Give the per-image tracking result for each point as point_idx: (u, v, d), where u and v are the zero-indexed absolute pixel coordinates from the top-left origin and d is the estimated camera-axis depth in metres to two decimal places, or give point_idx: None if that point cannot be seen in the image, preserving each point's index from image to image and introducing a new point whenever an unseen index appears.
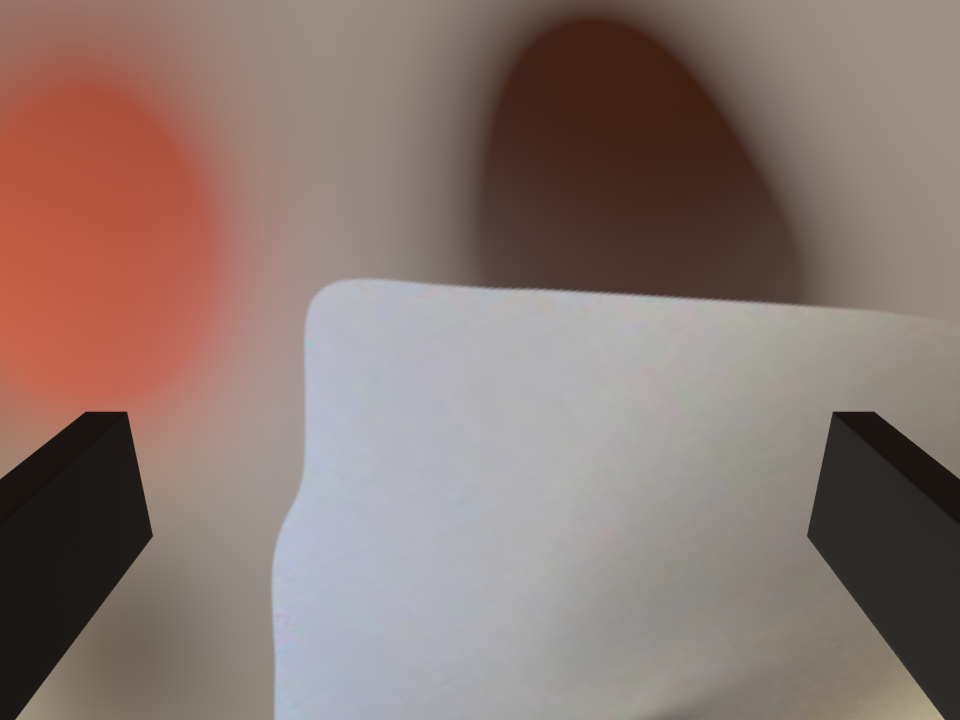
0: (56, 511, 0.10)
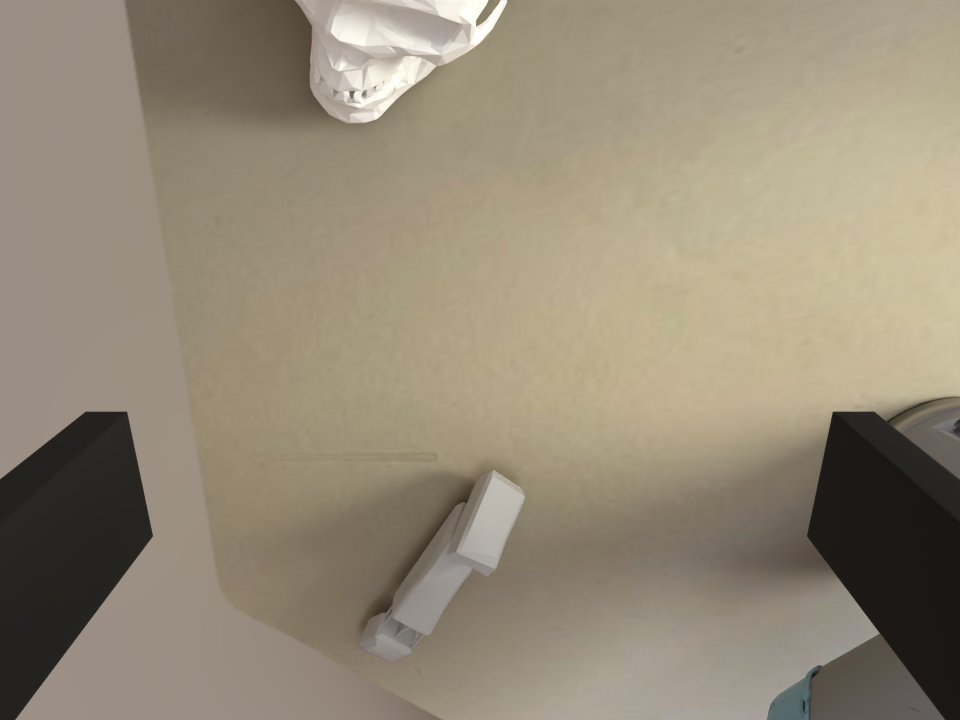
0: (57, 511, 0.10)
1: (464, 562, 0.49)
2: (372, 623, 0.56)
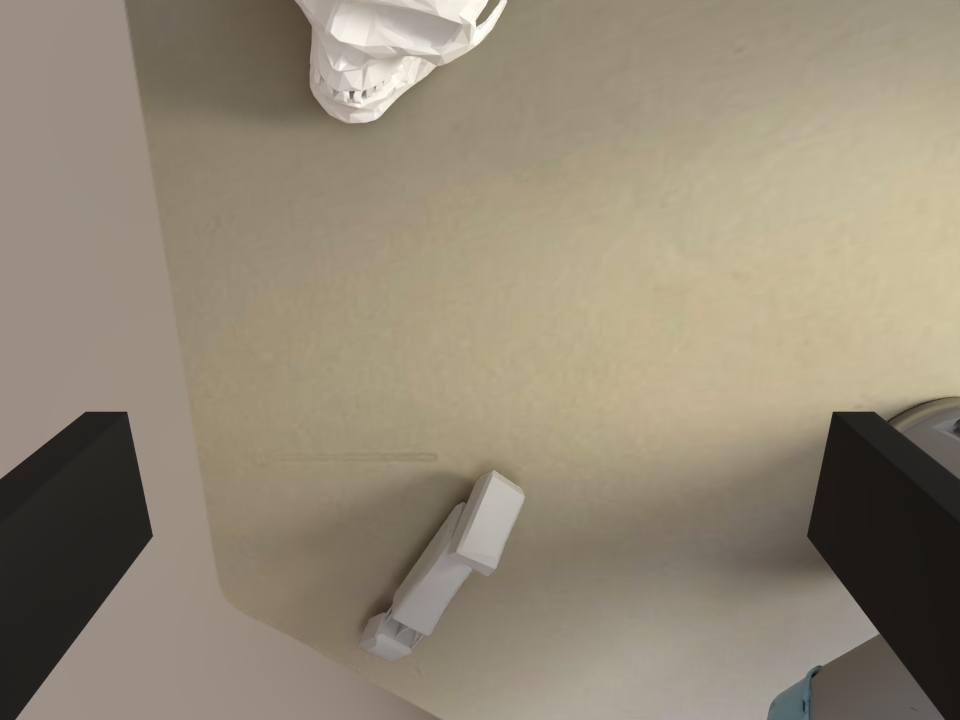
0: (56, 511, 0.10)
1: (464, 562, 0.49)
2: (372, 623, 0.56)
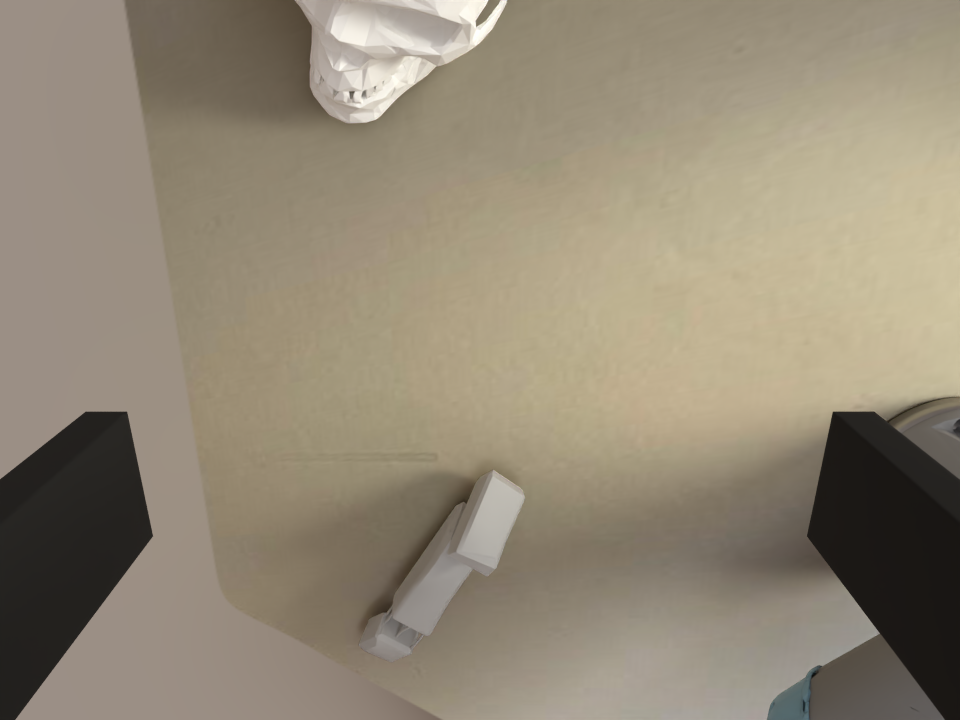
0: (56, 511, 0.10)
1: (464, 562, 0.49)
2: (372, 623, 0.56)
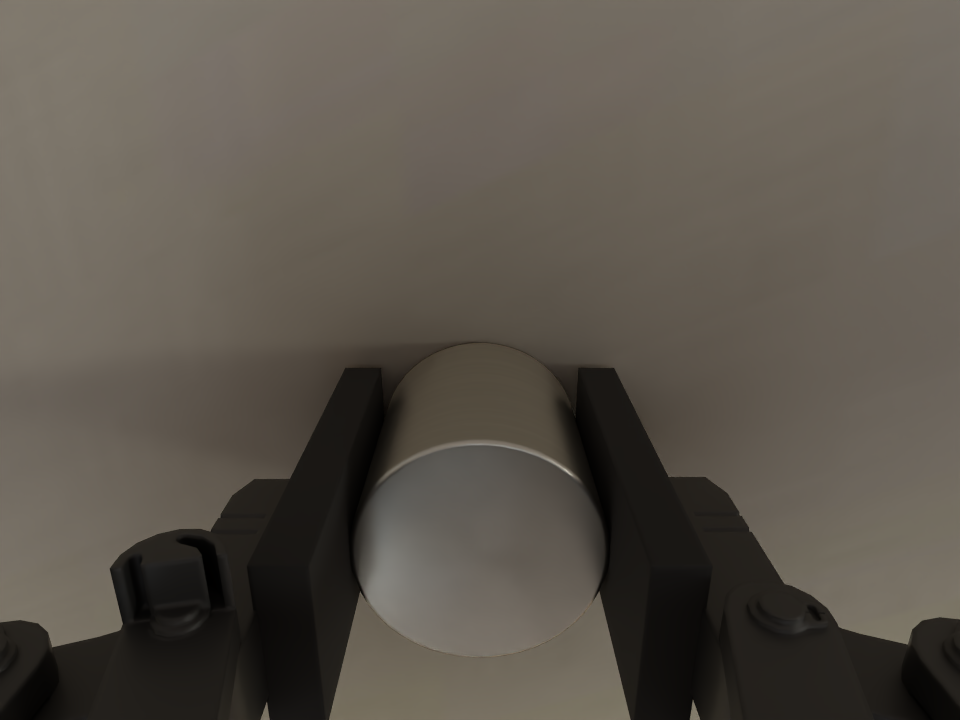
0: (364, 444, 0.12)
1: None
2: None
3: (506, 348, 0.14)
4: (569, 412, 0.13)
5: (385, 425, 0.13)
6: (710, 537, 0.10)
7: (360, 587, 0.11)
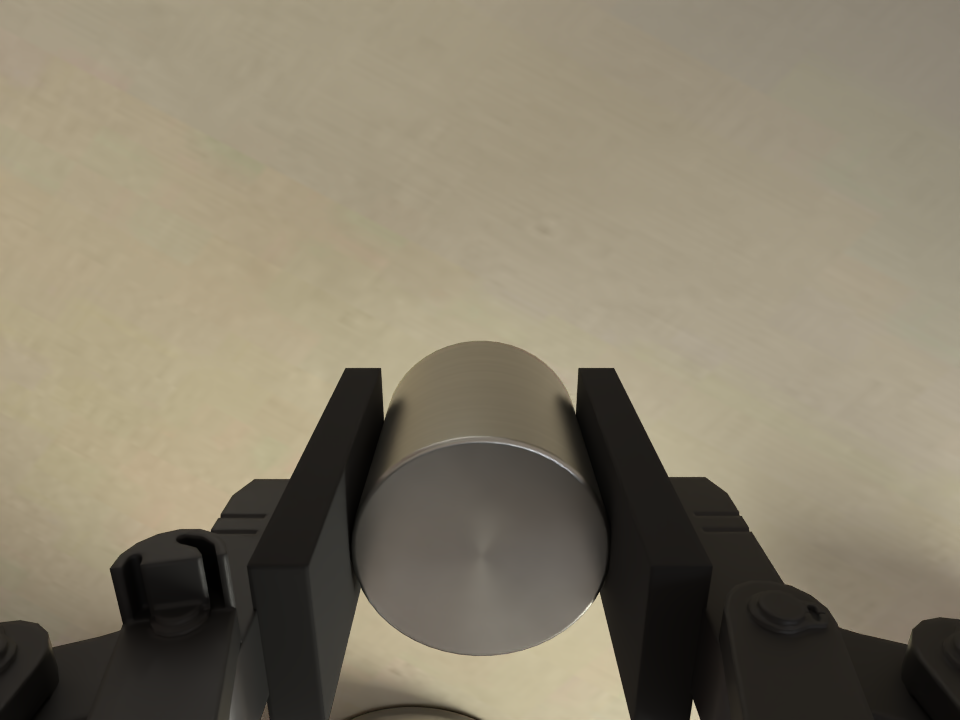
0: (364, 444, 0.12)
1: None
2: None
3: (507, 346, 0.14)
4: (571, 410, 0.13)
5: (386, 423, 0.13)
6: (710, 537, 0.10)
7: (361, 585, 0.11)
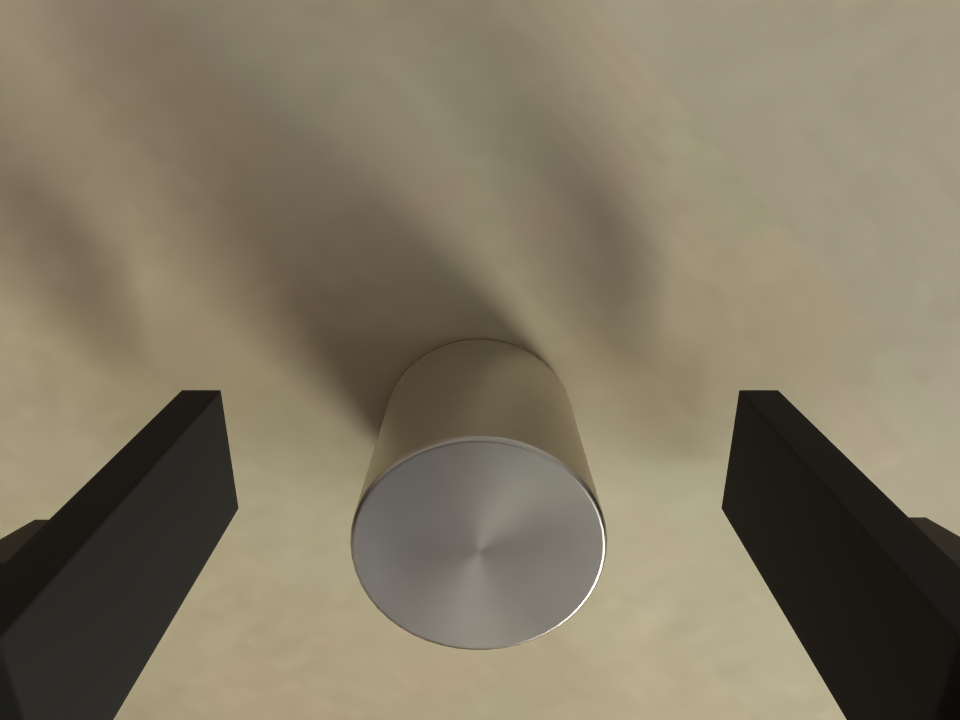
0: (173, 477, 0.11)
1: None
2: None
3: (505, 344, 0.14)
4: (567, 408, 0.13)
5: (385, 421, 0.13)
6: None
7: (361, 580, 0.11)
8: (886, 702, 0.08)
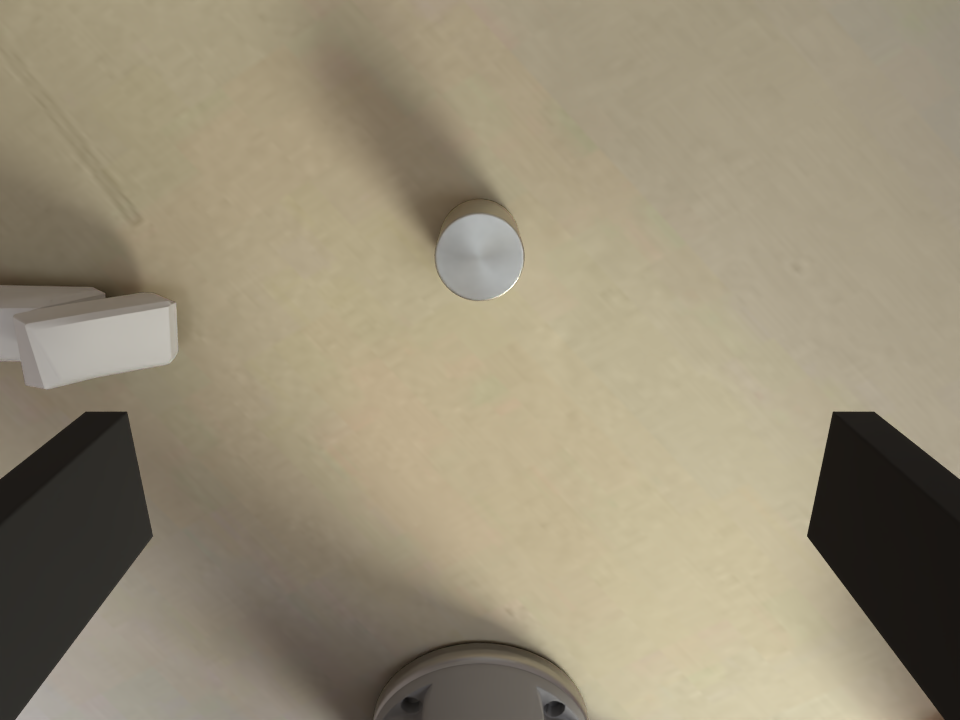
0: (56, 511, 0.10)
1: (20, 344, 0.31)
2: None
3: (490, 201, 0.35)
4: (514, 222, 0.34)
5: (443, 225, 0.33)
6: None
7: (438, 270, 0.32)
8: None
